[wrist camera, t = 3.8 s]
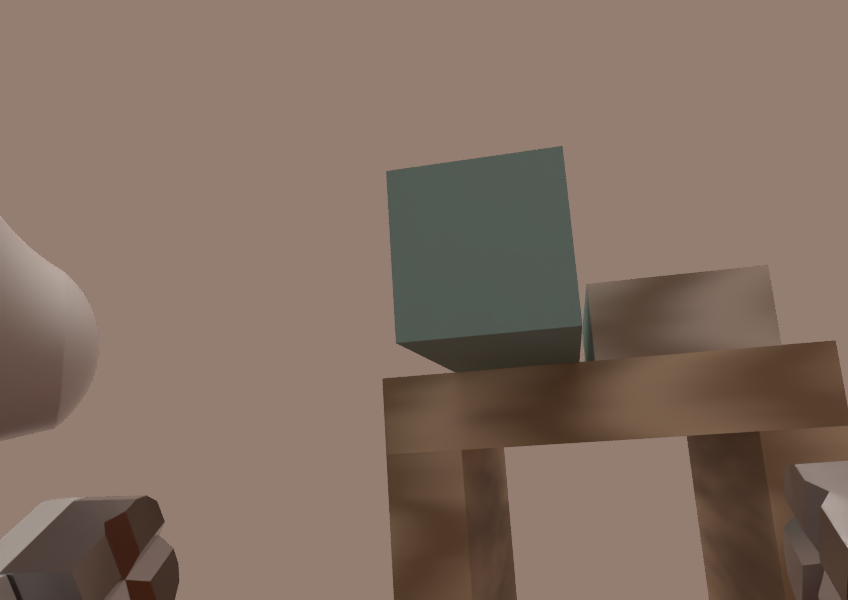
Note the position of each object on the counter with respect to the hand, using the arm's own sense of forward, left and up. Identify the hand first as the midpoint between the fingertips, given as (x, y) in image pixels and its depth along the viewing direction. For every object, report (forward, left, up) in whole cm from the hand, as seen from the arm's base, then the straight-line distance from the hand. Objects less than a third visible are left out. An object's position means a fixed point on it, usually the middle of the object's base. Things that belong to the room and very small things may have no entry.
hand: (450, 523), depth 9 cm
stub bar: (0, +15, +3) cm, 16 cm away
